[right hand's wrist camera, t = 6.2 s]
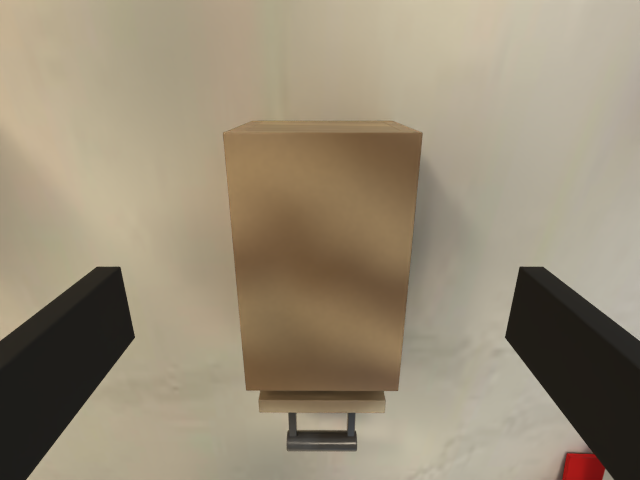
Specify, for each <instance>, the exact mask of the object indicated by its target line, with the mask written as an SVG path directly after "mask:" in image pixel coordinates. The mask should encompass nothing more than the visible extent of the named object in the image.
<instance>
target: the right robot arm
mask: <svg viewBox="0 0 640 480" xmlns="http://www.w3.org/2000/svg"><path fill="white" fill-rule="evenodd" d="M134 338H135V336H134V331H133V326H132V321H131V316H130V311H129V306H128V302H127V297H126V292H125V287H124V282H123V277H122V273H121V268H120V267H96V268H95V269H94V270H92V271H91V272H90V273H88V274H87V275H86V276H84V277H83V278H82V279H80V280H79V281H78V282H77V283H75V284H74V285H73V286H71V287H70V288H69V289H67V290H66V291H65V292H64V293H62V294H61V295H60V296H58V297H57V298H56V299H54V300H53V301H52V302H51V303H49V304H48V305H47V306H45V307H44V308H43V309H41V310H40V311H39V312H38V313H36V314H35V315H34V316H32V317H31V318H30V319H28V320H27V321H26V322H24V323H23V324H22V325H21V326H19V327H18V328H17V329H15V330H14V331H13V332H11V333H10V334H9V335H8V336H6V337H5V338H4V339H2V340H1V341H0V480H26V479H27V478H28V477H29V475H30V474H31V473H32V471H33V470H34V469H35V467H36V466H37V465H38V464H39V462H40V461H41V460H42V458H43V457H44V456H45V454H46V453H47V452H48V450H49V449H50V448H51V447H52V445H53V444H54V443H55V441H56V440H57V439H58V437H59V436H60V435H61V433H62V432H63V431H64V430H65V428H66V427H67V426H68V424H69V423H70V422H71V420H72V419H73V418H74V416H75V415H76V414H77V413H78V411H79V410H80V409H81V407H82V406H83V405H84V403H85V402H86V401H87V399H88V398H89V397H90V396H91V394H92V393H93V392H94V390H95V389H96V388H97V386H98V385H99V384H100V382H101V381H102V380H103V379H104V377H105V376H106V375H107V373H108V372H109V371H110V369H111V368H112V367H113V366H114V364H115V363H116V362H117V360H118V359H119V358H120V356H121V355H122V354H123V352H124V351H125V350H126V349H127V347H128V346H129V345H130V343H131V342H132V341H133V339H134ZM505 338H506V339H507V341H508V342H509V343H510V345H511V346H512V347H513V349H514V350H515V351H516V352H517V354H518V355H519V356H520V358H521V359H522V360H523V362H524V363H525V364H526V366H527V367H528V368H529V369H530V371H531V372H532V373H533V375H534V376H535V377H536V379H537V380H538V381H539V382H540V384H541V385H542V386H543V388H544V389H545V390H546V392H547V393H548V394H549V396H550V397H551V398H552V399H553V401H554V402H555V403H556V405H557V406H558V407H559V409H560V410H561V411H562V413H563V414H564V415H565V416H566V418H567V419H568V420H569V422H570V423H571V424H572V426H573V427H574V428H575V430H576V431H577V432H578V433H579V435H580V436H581V437H582V439H583V440H584V441H585V443H586V444H587V445H588V447H589V448H590V449H591V450H592V452H593V453H594V454H595V456H596V457H597V458H598V460H599V461H600V462H601V464H602V465H603V466H604V467H605V469H606V470H607V471H608V473H609V474H610V475H611V477H612V478H613V479H614V480H640V341H639V340H638V339H636V338H635V337H634V336H632V335H631V334H630V333H629V332H627V331H626V330H625V329H623V328H622V327H621V326H619V325H618V324H617V323H616V322H614V321H613V320H612V319H610V318H609V317H608V316H606V315H605V314H604V313H602V312H601V311H600V310H599V309H597V308H596V307H595V306H593V305H592V304H591V303H589V302H588V301H587V300H586V299H584V298H583V297H582V296H580V295H579V294H578V293H576V292H575V291H574V290H573V289H571V288H570V287H569V286H567V285H566V284H565V283H563V282H562V281H561V280H560V279H558V278H557V277H556V276H554V275H553V274H552V273H550V272H549V271H548V270H546V269H545V268H544V267H520V268H519V273H518V277H517V282H516V287H515V292H514V297H513V302H512V306H511V311H510V316H509V321H508V326H507V331H506V336H505Z"/></svg>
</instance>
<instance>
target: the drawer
mask: <svg viewBox="0 0 640 480" xmlns="http://www.w3.org/2000/svg"><path fill="white" fill-rule="evenodd" d="M385 402H386V400H385V396H384V391H260V396H259V412H287V413H288V414H289V430H288V432H287V451H357V434H356V431H355V413H384V412H385ZM296 413H347V430H297V416H296Z"/></svg>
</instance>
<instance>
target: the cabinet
mask: <svg viewBox="0 0 640 480" xmlns="http://www.w3.org/2000/svg"><path fill="white" fill-rule="evenodd" d="M422 134H423V133H422V132H419V131H416V130H414V129H411V128H409V127H406V126H404V125H401V124H399V123H396V122H394V121H251V122H249V123H246V124H244V125H241V126H239V127H237V128H234V129H232V130H229V131H226V132H224V133H223V138H224V149H225V160H226V171H227V182H228V193H229V205H230V216H231V227H232V238H233V249H234V260H235V271H236V282H237V294H238V305H239V316H240V327H241V338H242V349H243V360H244V372H245V383H246V390H259V391H398V386H399V376H400V365H401V355H402V344H403V334H404V323H405V313H406V302H407V292H408V281H409V271H410V260H411V250H412V239H413V229H414V218H415V208H416V197H417V187H418V176H419V166H420V155H421V145H422Z"/></svg>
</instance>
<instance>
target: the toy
mask: <svg viewBox="0 0 640 480" xmlns="http://www.w3.org/2000/svg"><path fill="white" fill-rule="evenodd" d="M562 480H614V479H613V478H612V477H611V475H610V474H609V473H608V471H607V470H606V469H605V467H604V466H603V465H602V464H601V462H600V461H599V460H598V458H597V457H596V456H595V454H571V453H567V456H566V462H565V467H564V473H563V478H562Z"/></svg>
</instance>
